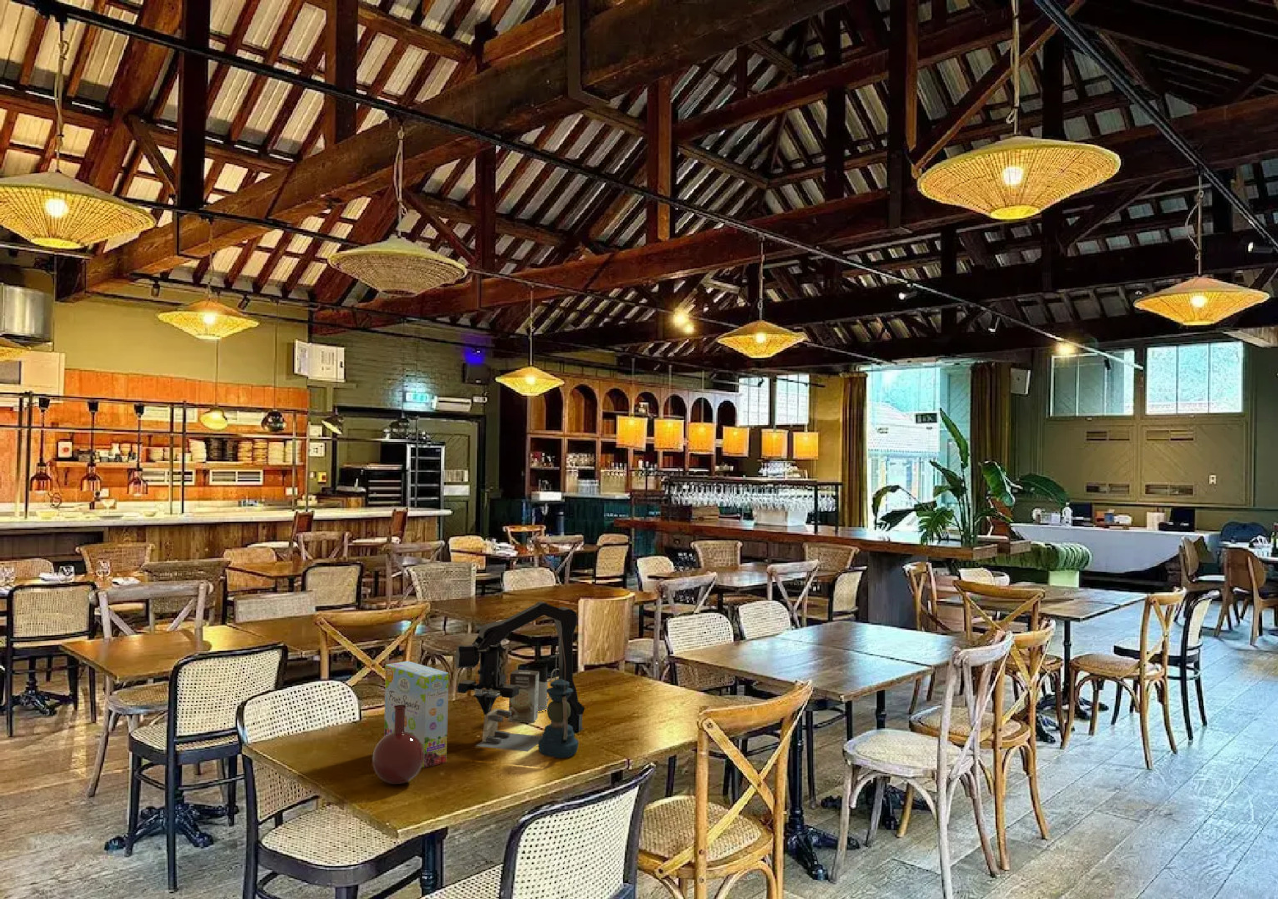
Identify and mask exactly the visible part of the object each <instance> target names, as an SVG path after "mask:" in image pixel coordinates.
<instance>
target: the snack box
mask: <svg viewBox="0 0 1278 899" xmlns="http://www.w3.org/2000/svg"><path fill="white" fill-rule="evenodd" d="M384 668H385V670H384V671H385V672H384V674H385V675H384V677H385V678H384V681H385V682H384V684H385V685H384V720H383V721H384V722H383V723H384V727H383V729H384V731H383V733H384V734H383V737H385V736H386V735H388V734H390V733H393V732H394V724H395V709H394V706H396V705H405V706H406V708H405V726H404V732H408V733H411V734H413V735H414V736H415V737H417V738H418V739H419V741H420V742H421V744H422V746H423V750H424V761H423V765H422V767H421V768H424V769H425V768H429V767H433V766H436V765H439V764H445V763H447V762H448V758H447V757H448V756H447V755H448V754H447V752H448V751H447V750H448V714H449V713H448V712H449V711H448V709H449V680H450V679H449V674H450V673H449V672H447V671H444V670H441V669H437V668H434V667H431V666H430V667H429V666H427V665H424V664H420V663H416V662H412V661H410V660H406V661H401V662H393V663H387V664H385V666H384Z"/></svg>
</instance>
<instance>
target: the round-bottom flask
mask: <svg viewBox="0 0 1278 899" xmlns="http://www.w3.org/2000/svg"><path fill="white" fill-rule="evenodd" d="M405 708H406V706H405V705H396V706H394V709H395V724H394V732H393V733H390V734H388V735H386V736H385V737H384V736H383V737H382V738H381V739H380V740H379V741H378V742H377V744H376V745H375V748H374V750H373V754H372V767H373V770H374V772H375V774H376V775H377V777H378V778H379V779H381V781H383V782H385V783H388V784H391V785H402V784H406V783H408V782H410V781H412V779H414V778H416V776H417V775H418V774H419V773H420V771H421V769H422V768H423V767H422V765H423V761H424V750H423V746H422V744H421V742H420V741H419V739H418V738H417V737H415V736H414V735H413V734H411V733H408V732H404V726H405Z"/></svg>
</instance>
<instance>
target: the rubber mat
mask: <svg viewBox="0 0 1278 899" xmlns="http://www.w3.org/2000/svg"><path fill="white" fill-rule="evenodd" d="M542 736H543V735H542ZM542 736H541V735H532V734H523V733H511V732H510V737H509V738H504V737H498V736H494V737H497V738H501V743H500V744H495V743H490V742H484V741H480V742H479V743H477V744H476V745H475V747H482V748H489V749H491V748H492V749H501V750H510V751H520V752H529V751H531V750H532V749H533V748H534V747H536V746H538V742H539V740H540V739H542Z"/></svg>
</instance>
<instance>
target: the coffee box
mask: <svg viewBox="0 0 1278 899" xmlns="http://www.w3.org/2000/svg"><path fill="white" fill-rule="evenodd" d="M509 685H517V686H518V687H519V694H518V695H516V696H515V697H513V698H508V711H512V714H511V716H510V717H508V720H509V721H508V720H507V721H508V722H515V721H525V722H524V723H532V722H534V721H535V720H537V719H538V714H539V713H538V691H539V671H528V670H526V669H513V671H511V672H510V675H509ZM535 722H536V721H535ZM535 722H534V723H535Z"/></svg>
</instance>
